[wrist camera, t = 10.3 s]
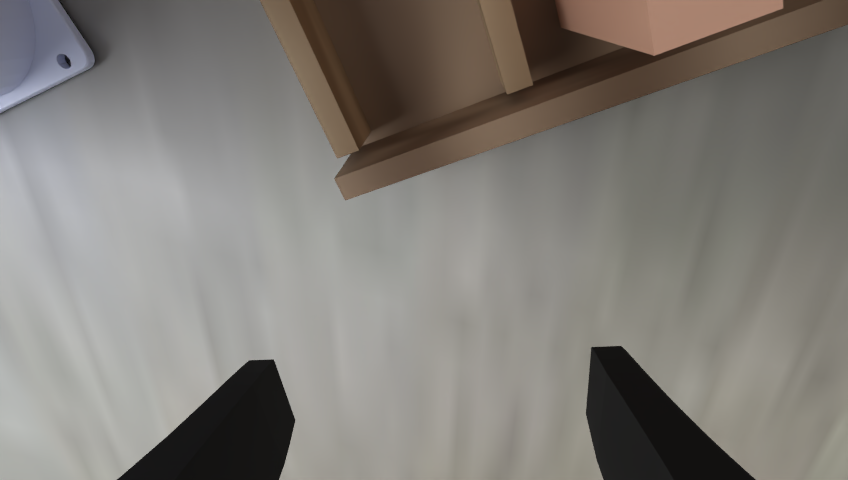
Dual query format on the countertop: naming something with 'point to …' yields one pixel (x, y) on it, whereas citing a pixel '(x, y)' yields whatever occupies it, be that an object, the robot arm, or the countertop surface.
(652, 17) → the pink cardboard carton
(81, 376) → the countertop surface
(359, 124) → the wooden compartment tray
